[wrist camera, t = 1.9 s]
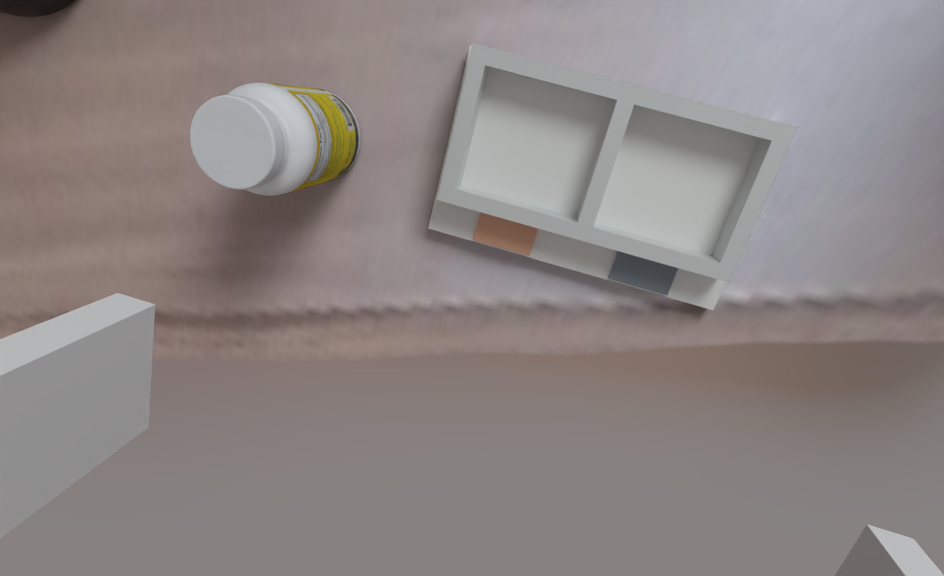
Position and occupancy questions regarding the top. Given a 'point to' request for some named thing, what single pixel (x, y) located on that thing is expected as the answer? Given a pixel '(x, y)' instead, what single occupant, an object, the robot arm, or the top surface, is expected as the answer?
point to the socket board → (604, 175)
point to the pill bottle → (274, 138)
